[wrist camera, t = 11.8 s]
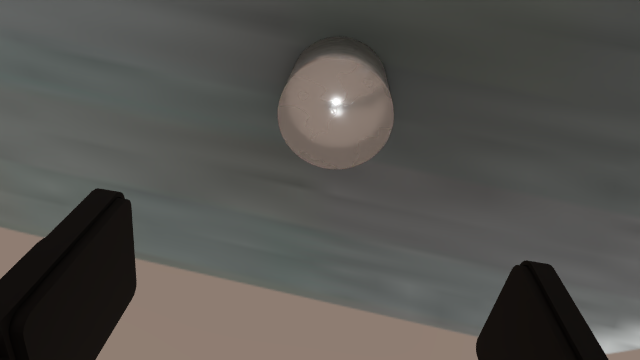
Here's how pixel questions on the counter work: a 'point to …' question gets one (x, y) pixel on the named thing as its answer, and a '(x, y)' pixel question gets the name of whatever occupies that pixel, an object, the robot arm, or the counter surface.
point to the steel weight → (336, 104)
